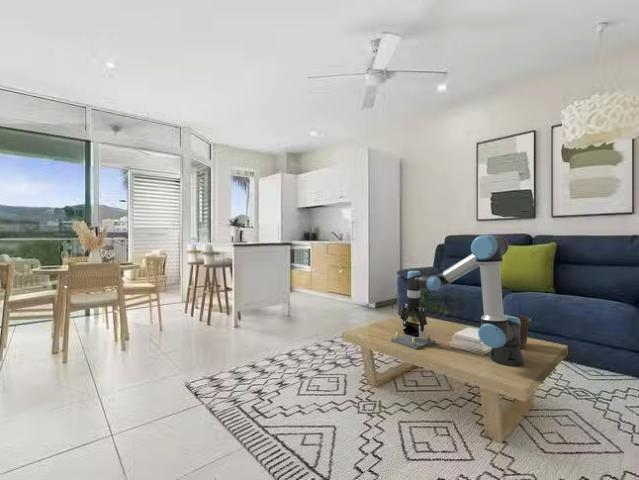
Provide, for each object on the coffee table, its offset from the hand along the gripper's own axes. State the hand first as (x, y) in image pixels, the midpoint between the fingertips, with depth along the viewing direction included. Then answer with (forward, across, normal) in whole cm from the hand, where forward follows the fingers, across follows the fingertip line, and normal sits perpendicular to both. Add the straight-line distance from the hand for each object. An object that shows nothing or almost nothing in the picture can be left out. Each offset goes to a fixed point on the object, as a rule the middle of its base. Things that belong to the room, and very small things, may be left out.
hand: (413, 333), depth 198 cm
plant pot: (+5, -38, -43) cm, 58 cm away
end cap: (0, 0, 0) cm, 1 cm away
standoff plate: (+5, 0, 0) cm, 5 cm away
